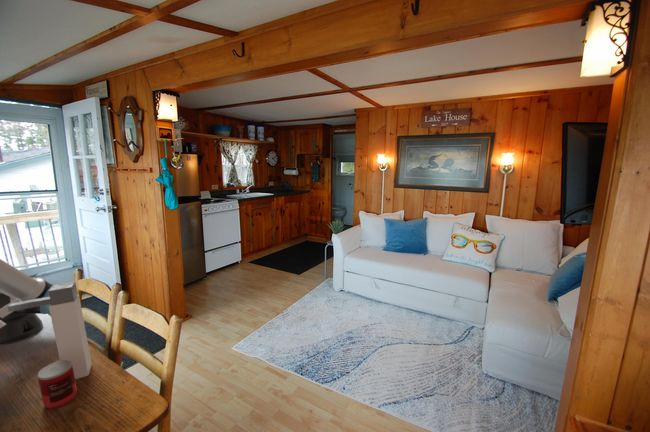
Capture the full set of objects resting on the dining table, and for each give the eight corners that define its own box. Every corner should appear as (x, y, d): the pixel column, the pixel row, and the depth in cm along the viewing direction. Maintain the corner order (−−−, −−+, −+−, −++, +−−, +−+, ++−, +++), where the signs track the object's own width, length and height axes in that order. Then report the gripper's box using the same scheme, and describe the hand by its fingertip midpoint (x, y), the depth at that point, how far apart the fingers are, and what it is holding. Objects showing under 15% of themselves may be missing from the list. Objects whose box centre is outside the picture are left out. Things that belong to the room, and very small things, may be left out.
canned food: (60, 389, 92) (54, 359, 90) (84, 389, 92) (78, 360, 90) (36, 409, 85) (29, 377, 82) (62, 410, 84) (55, 378, 82)
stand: (69, 371, 100) (54, 298, 94) (91, 364, 103) (78, 294, 97) (64, 382, 95) (48, 306, 89) (88, 375, 98) (74, 301, 92)
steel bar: (13, 306, 89) (10, 292, 88) (77, 295, 97) (75, 281, 96) (6, 314, 85) (3, 298, 84) (74, 301, 93) (71, 287, 92)
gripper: (-33, 345, 92) (37, 301, 99) (-90, 401, 71) (4, 340, 78) (-56, 331, 89) (18, 286, 96) (-123, 385, 68) (-22, 323, 75)
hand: (12, 310), depth 87 cm, fingers open, 13 cm apart
